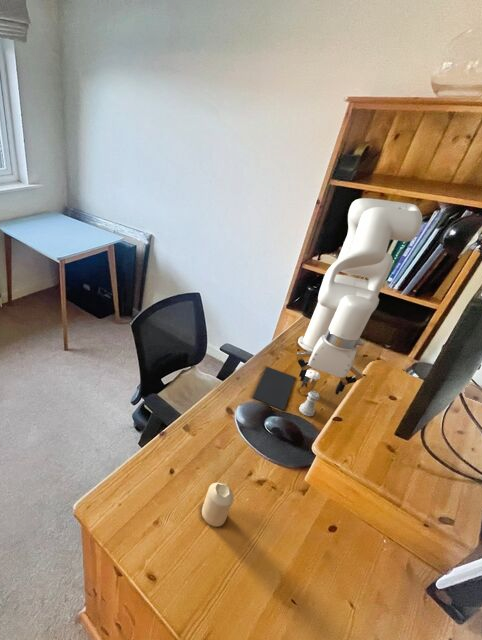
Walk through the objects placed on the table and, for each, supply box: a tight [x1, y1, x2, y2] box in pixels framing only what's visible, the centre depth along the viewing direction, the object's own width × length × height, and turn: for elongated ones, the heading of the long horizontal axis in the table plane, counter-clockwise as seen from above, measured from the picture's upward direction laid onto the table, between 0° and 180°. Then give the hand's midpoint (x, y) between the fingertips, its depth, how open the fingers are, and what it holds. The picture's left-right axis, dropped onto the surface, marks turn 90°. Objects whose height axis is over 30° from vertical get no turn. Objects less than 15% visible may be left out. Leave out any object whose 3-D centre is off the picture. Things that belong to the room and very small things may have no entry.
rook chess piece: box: [298, 390, 320, 417], centre depth 109 cm, size 4×4×8 cm
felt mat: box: [252, 366, 296, 412], centre depth 120 cm, size 20×10×1 cm, turn 146°
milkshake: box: [299, 368, 322, 397], centre depth 117 cm, size 4×5×10 cm
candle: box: [201, 482, 235, 528], centre depth 79 cm, size 6×6×10 cm
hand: (318, 385), depth 105 cm, fingers open, 9 cm apart
